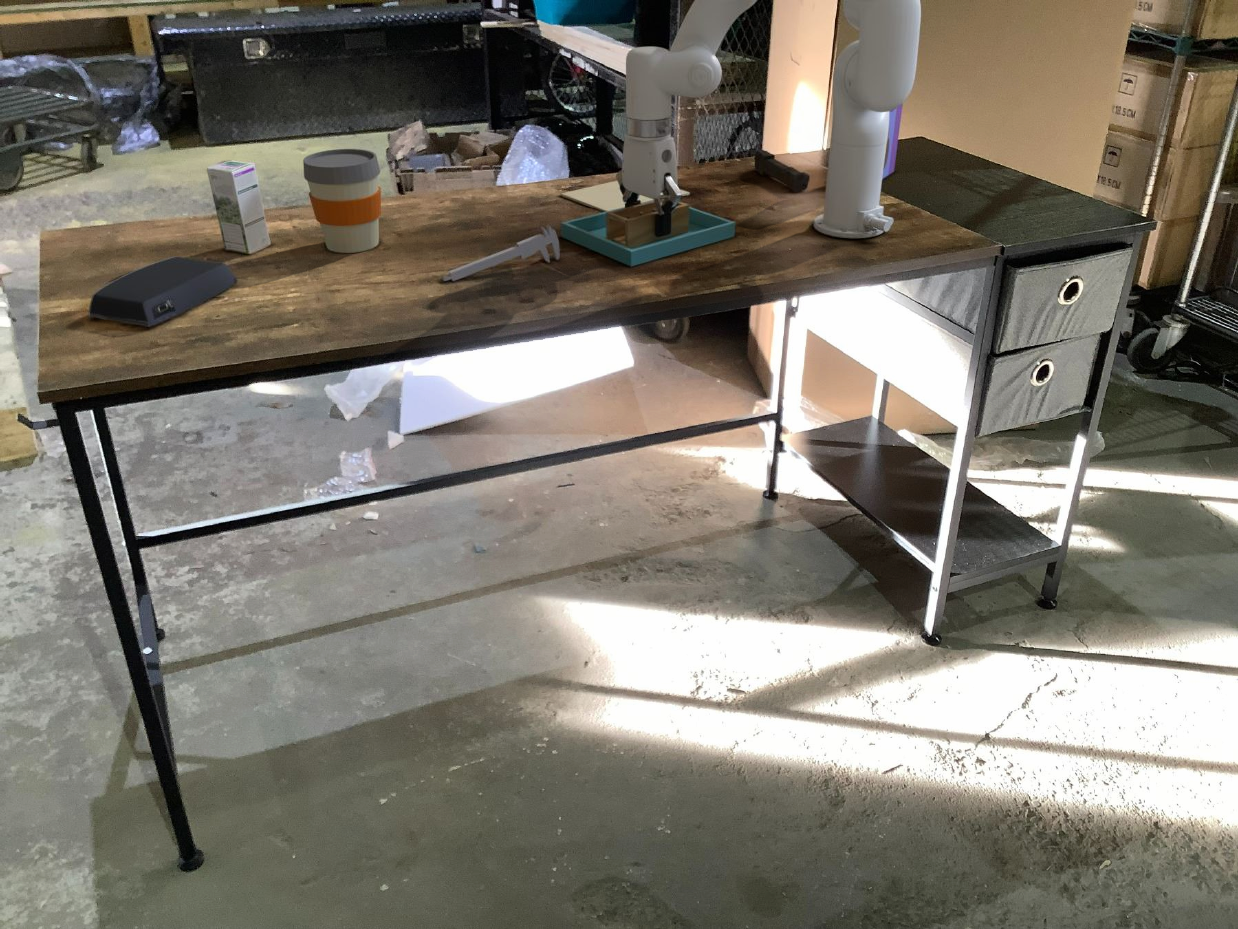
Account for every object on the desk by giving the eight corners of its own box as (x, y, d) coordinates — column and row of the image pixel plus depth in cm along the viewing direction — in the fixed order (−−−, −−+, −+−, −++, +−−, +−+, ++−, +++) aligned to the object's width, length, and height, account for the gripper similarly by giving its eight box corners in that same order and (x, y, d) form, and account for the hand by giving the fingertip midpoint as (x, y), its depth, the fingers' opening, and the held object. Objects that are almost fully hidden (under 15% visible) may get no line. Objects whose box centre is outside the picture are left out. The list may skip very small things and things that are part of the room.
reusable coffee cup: (403, 243, 179) (393, 156, 171) (342, 261, 171) (328, 171, 163) (361, 227, 186) (350, 144, 178) (301, 245, 178) (286, 158, 171)
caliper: (557, 259, 171) (555, 222, 168) (559, 261, 170) (558, 224, 167) (442, 280, 163) (438, 242, 160) (444, 283, 162) (440, 245, 159)
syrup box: (272, 244, 179) (256, 161, 171) (248, 255, 174) (231, 170, 167) (247, 240, 181) (230, 158, 173) (223, 251, 176) (204, 166, 169)
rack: (688, 232, 182) (689, 204, 179) (627, 249, 175) (627, 220, 172) (666, 224, 186) (667, 196, 183) (606, 240, 179) (605, 212, 176)
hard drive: (85, 318, 151) (77, 292, 149) (177, 274, 166) (172, 250, 164) (154, 331, 147) (147, 304, 145) (242, 285, 162) (237, 260, 160)
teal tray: (734, 237, 180) (735, 222, 179) (631, 267, 168) (631, 251, 166) (662, 211, 193) (662, 197, 192) (561, 237, 181) (560, 222, 179)
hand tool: (809, 191, 203) (811, 168, 201) (791, 193, 202) (793, 170, 200) (766, 168, 219) (768, 146, 216) (749, 170, 218) (751, 147, 215)
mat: (689, 194, 202) (689, 192, 202) (610, 214, 192) (610, 212, 191) (638, 177, 213) (638, 175, 213) (560, 195, 203) (560, 193, 202)
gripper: (700, 132, 167) (696, 237, 176) (632, 114, 178) (633, 213, 188) (665, 140, 163) (663, 246, 172) (599, 121, 174) (600, 221, 184)
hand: (647, 228), depth 180 cm, fingers open, 7 cm apart
